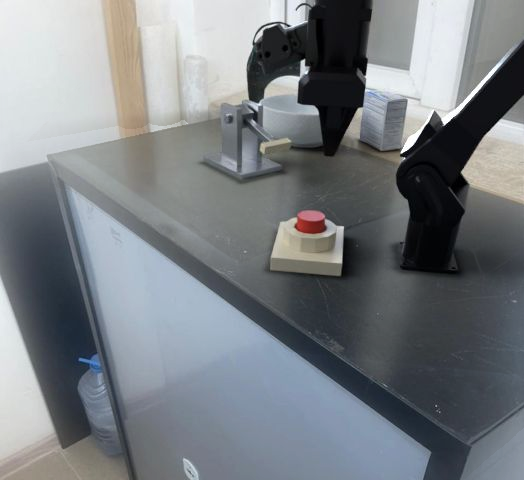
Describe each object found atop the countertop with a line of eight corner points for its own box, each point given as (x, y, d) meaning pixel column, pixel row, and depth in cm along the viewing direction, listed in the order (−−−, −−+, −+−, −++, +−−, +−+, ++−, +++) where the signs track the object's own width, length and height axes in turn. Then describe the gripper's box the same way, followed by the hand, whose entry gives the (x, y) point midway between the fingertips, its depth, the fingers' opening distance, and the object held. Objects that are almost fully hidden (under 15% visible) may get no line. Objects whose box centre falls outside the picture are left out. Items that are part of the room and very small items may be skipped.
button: (323, 236, 63) (324, 222, 62) (295, 234, 63) (296, 220, 62) (324, 225, 65) (325, 211, 64) (297, 222, 66) (298, 209, 65)
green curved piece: (331, 104, 127) (341, 2, 115) (336, 111, 122) (347, 5, 110) (245, 103, 125) (246, 0, 113) (247, 110, 120) (247, 3, 108)
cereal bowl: (363, 139, 105) (368, 100, 101) (325, 163, 93) (329, 119, 89) (285, 125, 111) (286, 87, 107) (241, 146, 100) (241, 104, 96)
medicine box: (401, 149, 100) (409, 98, 95) (379, 151, 99) (387, 100, 94) (378, 137, 106) (385, 89, 101) (358, 139, 105) (364, 90, 100)
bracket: (281, 172, 89) (284, 108, 83) (241, 182, 85) (241, 115, 79) (242, 154, 96) (242, 94, 90) (203, 162, 92) (200, 100, 86)
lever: (289, 152, 83) (292, 138, 82) (263, 158, 81) (266, 143, 79) (248, 117, 88) (251, 102, 87) (222, 121, 86) (224, 106, 84)
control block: (340, 276, 62) (344, 248, 60) (270, 270, 63) (271, 242, 61) (342, 238, 70) (345, 212, 68) (279, 233, 71) (281, 207, 68)
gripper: (276, -16, 62) (272, 128, 71) (244, -3, 47) (244, 177, 56) (376, -12, 60) (358, 135, 70) (376, 3, 46) (353, 186, 55)
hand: (329, 155), depth 63 cm, fingers closed
